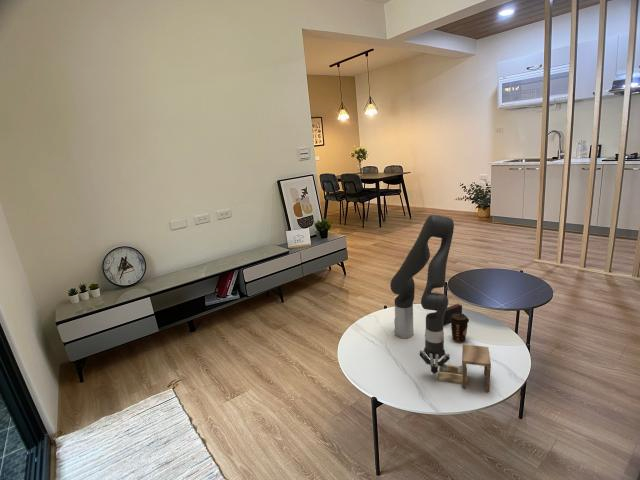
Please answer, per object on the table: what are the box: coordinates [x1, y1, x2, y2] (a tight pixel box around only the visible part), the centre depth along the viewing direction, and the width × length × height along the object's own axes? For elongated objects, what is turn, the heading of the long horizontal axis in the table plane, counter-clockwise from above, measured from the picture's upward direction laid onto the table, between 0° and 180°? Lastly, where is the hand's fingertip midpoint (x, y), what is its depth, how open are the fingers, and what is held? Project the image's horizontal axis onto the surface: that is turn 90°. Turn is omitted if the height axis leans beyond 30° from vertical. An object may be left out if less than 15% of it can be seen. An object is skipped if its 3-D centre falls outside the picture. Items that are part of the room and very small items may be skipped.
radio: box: [435, 303, 463, 327], centre depth 192 cm, size 19×3×15 cm, turn 115°
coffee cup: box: [450, 312, 470, 344], centre depth 176 cm, size 9×8×13 cm
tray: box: [438, 363, 468, 386], centre depth 150 cm, size 11×6×6 cm, turn 69°
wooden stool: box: [461, 343, 492, 393], centre depth 146 cm, size 10×12×13 cm
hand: (434, 372), depth 153 cm, fingers closed
